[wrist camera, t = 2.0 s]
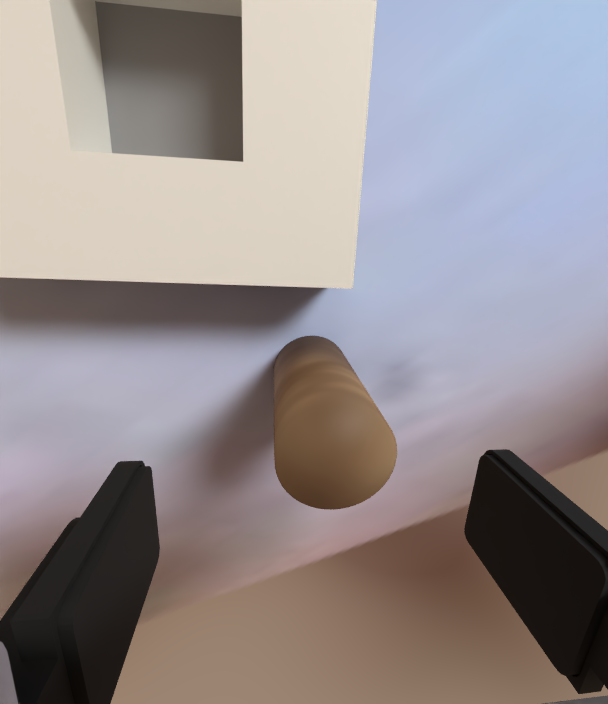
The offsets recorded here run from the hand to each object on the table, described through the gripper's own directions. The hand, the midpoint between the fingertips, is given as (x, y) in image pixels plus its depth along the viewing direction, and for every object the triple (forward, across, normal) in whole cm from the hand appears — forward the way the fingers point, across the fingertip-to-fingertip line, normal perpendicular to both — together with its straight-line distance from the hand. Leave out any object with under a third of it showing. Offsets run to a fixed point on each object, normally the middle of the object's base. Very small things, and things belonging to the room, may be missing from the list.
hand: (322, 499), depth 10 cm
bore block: (+10, +5, -12) cm, 16 cm away
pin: (+10, -1, 0) cm, 10 cm away
